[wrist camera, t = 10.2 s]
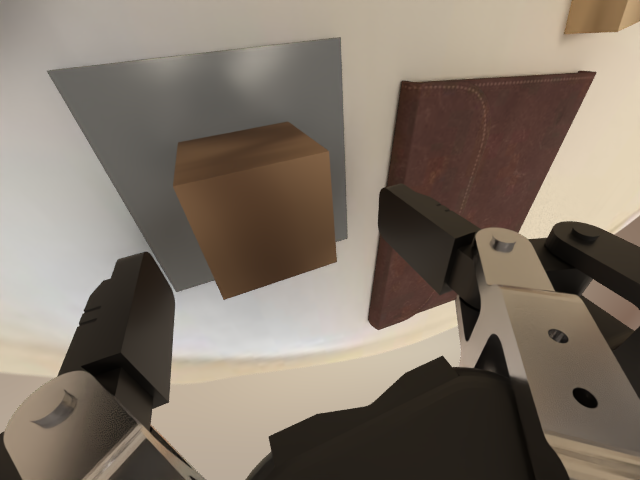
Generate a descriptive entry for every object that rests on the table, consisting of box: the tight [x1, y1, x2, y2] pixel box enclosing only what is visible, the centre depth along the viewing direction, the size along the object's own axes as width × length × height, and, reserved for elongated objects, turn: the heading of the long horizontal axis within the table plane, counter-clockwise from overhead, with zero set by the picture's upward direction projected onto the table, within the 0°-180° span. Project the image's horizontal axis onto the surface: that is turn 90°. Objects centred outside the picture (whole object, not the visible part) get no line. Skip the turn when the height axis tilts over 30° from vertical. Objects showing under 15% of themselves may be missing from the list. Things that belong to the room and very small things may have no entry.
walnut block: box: [173, 122, 337, 300], centre depth 12 cm, size 5×5×5 cm
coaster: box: [47, 37, 347, 292], centre depth 14 cm, size 11×11×1 cm
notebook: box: [368, 71, 596, 330], centre depth 22 cm, size 15×20×2 cm
